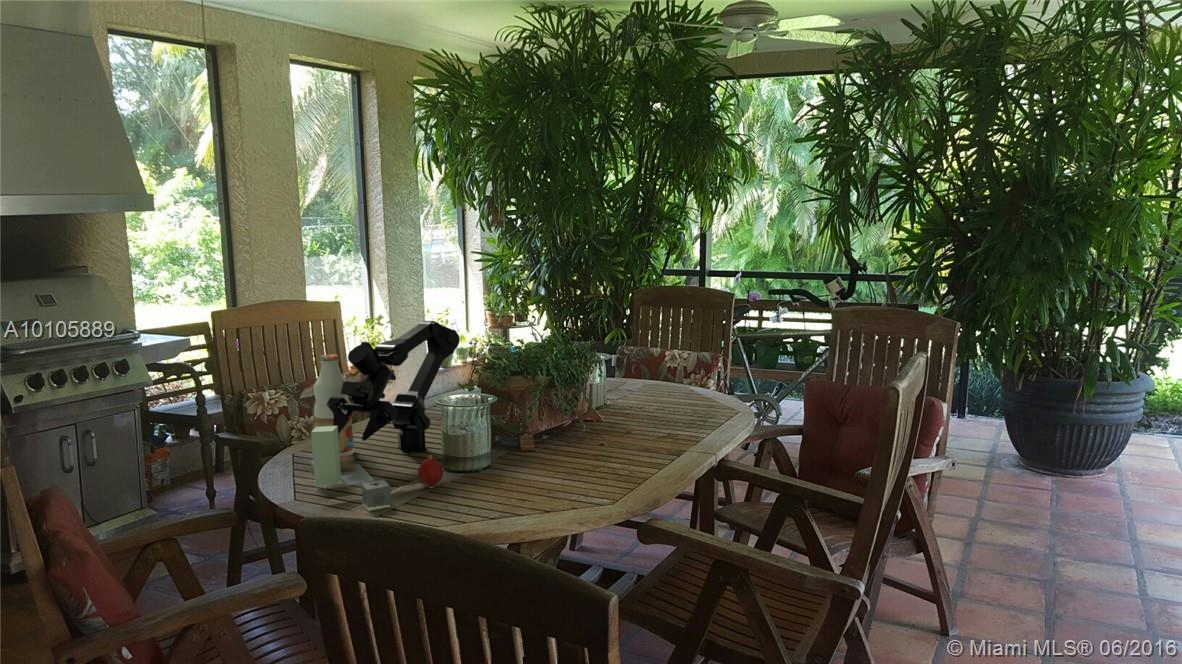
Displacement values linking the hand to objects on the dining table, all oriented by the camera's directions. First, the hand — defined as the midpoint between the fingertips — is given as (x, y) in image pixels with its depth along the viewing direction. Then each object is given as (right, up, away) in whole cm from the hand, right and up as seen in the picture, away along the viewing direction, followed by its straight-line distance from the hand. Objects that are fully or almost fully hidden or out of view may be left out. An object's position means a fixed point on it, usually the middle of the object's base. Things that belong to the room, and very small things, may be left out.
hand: (348, 438), depth 204 cm
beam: (-4, -9, +2) cm, 10 cm away
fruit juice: (-9, -8, +18) cm, 22 cm away
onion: (+22, -11, -8) cm, 26 cm away
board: (-2, -10, -2) cm, 11 cm away
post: (-3, -10, -6) cm, 12 cm away
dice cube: (+12, -13, -20) cm, 27 cm away
